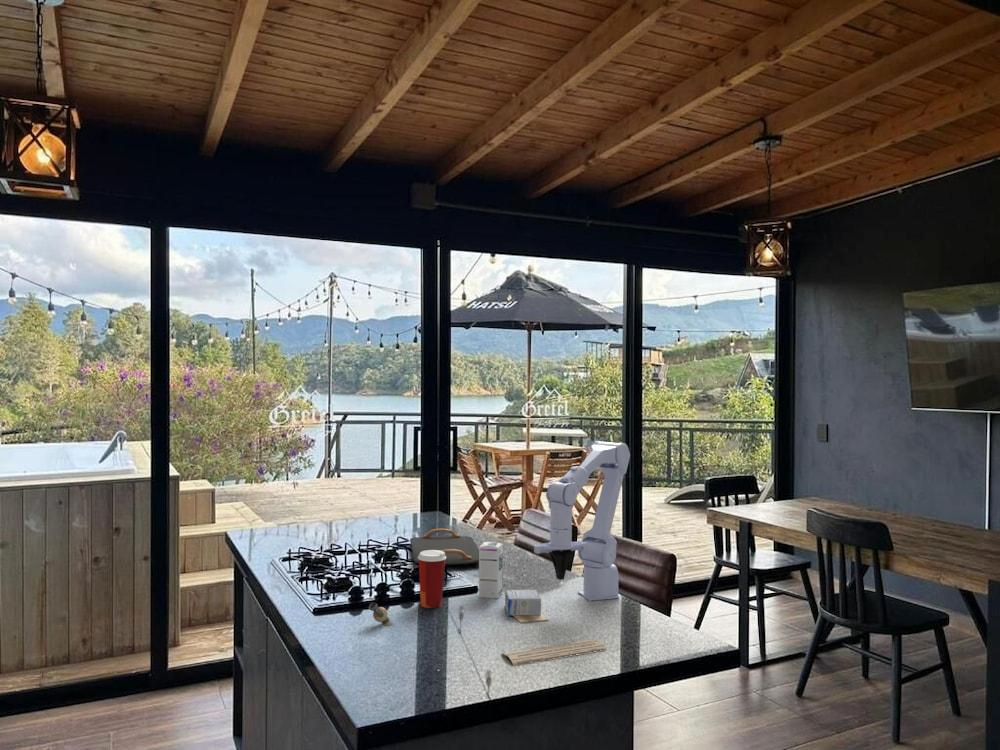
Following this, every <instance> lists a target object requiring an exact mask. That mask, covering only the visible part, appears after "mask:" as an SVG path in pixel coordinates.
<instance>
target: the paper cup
mask: <svg viewBox="0 0 1000 750" xmlns="http://www.w3.org/2000/svg"><path fill="white" fill-rule="evenodd" d="M418 559H419V563H418V569H419V570H418V571H419V592H420V593H419V595H420V596H419V597H420V607H422V608H426V609H435V608H440V607H441V606H442V603H443V602H442V601H443V592H444V578H445V566H446V565H445V559H446V556H445V553H444V552H443V551H439V550H426V551H422V552H420V554H419V556H418Z"/></svg>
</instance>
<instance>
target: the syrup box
mask: <svg viewBox="0 0 1000 750" xmlns="http://www.w3.org/2000/svg"><path fill="white" fill-rule="evenodd" d="M503 545H504V544H503V543H502V542H498V541H483V542H482V544H481V545H479V547H478V549H479V567H478V597H479V598H483V597H485V598H484V599H494V598H497V599H499V598H500V597H501V595H502V593H503V583H504V582H503V575H504V574H503V573H504V572H503V569H504V568H503V567H504V566H503V565H504V563H503V561H504V559H503V557H504V556H503V554H504V553H503V549H504V548H503V547H504V546H503ZM497 599H496V600H497Z"/></svg>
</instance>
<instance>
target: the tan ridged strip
mask: <svg viewBox="0 0 1000 750" xmlns="http://www.w3.org/2000/svg"><path fill="white" fill-rule="evenodd" d="M600 650H606V651H607V647H606V646H605V645H604V643H603V642H601V641H600V640H598V639H589V640H583V641H577V642H575V641H574V642H570V643H569V642H568V643H561V644H557V645H551V646H543V647H538V648H531V649H525V650H519V651H512V652H505V653H501V657H502V656H503V657H507V658H509V659H510V661H511V663H512V666H513V667H514V666H520V664H521V665H526V664H525V663H527V664H531V663H530V662H533V663H536V662H535V661H539V662H542V661H541V660H546V661H549V660H548V659H552V660H554V659H553V658H558V659H560V658H559V657H564V658H566V657H565V656H570V655H576V654H582V655H584V654H583V653H588V654H590V653H589V652H594V651H600ZM600 652H601V651H600ZM594 653H595V652H594ZM576 656H577V655H576ZM570 657H571V656H570Z"/></svg>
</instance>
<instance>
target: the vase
mask: <svg viewBox="0 0 1000 750" xmlns="http://www.w3.org/2000/svg"><path fill="white" fill-rule="evenodd" d="M368 610H370V611H372V612H373V613H372V617H373V619H374V620H375V621H376V622H378V623H381V625H383V626H386V628H389V627H393V625H394V623H393V622H392V620H391V619H390V617H389V616H388V611H387V609H386V608H385V607H383V606H378V603H377V602H371V603H370V604H369V606H368ZM367 623H368V622H367Z"/></svg>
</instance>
